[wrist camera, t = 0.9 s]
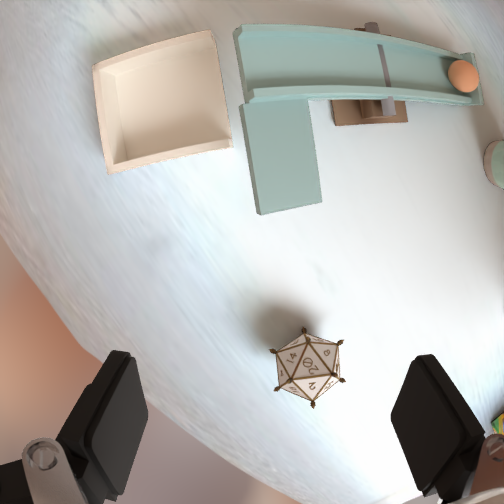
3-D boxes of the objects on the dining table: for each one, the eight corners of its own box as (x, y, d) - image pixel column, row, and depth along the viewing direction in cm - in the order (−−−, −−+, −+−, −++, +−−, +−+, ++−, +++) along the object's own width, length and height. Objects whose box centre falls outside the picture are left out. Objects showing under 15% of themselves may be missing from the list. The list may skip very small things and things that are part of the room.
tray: (215, 42, 27) (209, 29, 23) (233, 147, 31) (229, 147, 27) (108, 72, 28) (91, 65, 24) (123, 171, 31) (107, 174, 28)
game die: (286, 331, 41) (240, 352, 33) (342, 309, 37) (306, 330, 29) (309, 390, 39) (269, 424, 31) (367, 375, 35) (338, 413, 27)
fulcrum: (388, 36, 26) (402, 26, 22) (405, 122, 29) (421, 120, 25) (318, 36, 26) (325, 23, 23) (335, 126, 29) (345, 123, 26)
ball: (459, 65, 25) (481, 60, 21) (464, 94, 26) (487, 92, 22) (438, 60, 24) (461, 55, 21) (444, 92, 25) (468, 89, 22)
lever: (448, 46, 25) (470, 41, 22) (467, 172, 30) (490, 176, 27) (222, 18, 19) (235, -3, 16) (256, 213, 24) (273, 220, 20)
